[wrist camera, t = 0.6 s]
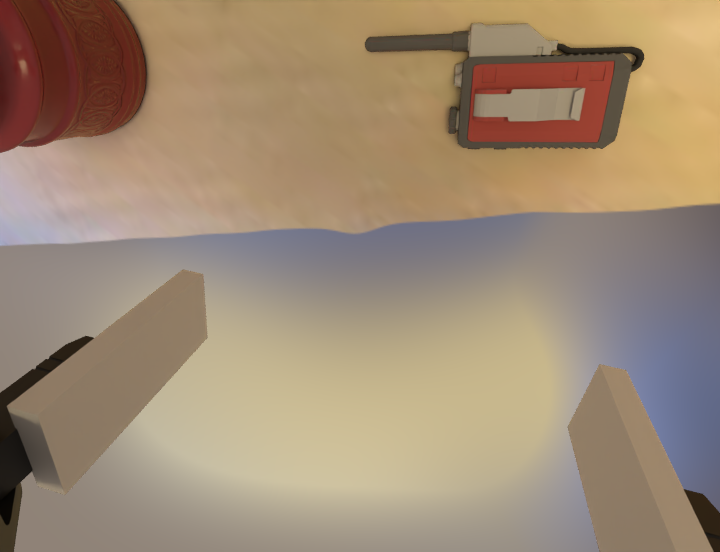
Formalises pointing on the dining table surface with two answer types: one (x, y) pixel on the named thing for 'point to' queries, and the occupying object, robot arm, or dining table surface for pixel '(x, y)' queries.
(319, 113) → the dining table surface
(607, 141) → the walkie-talkie
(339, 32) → the dining table surface
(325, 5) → the dining table surface
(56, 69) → the canister
